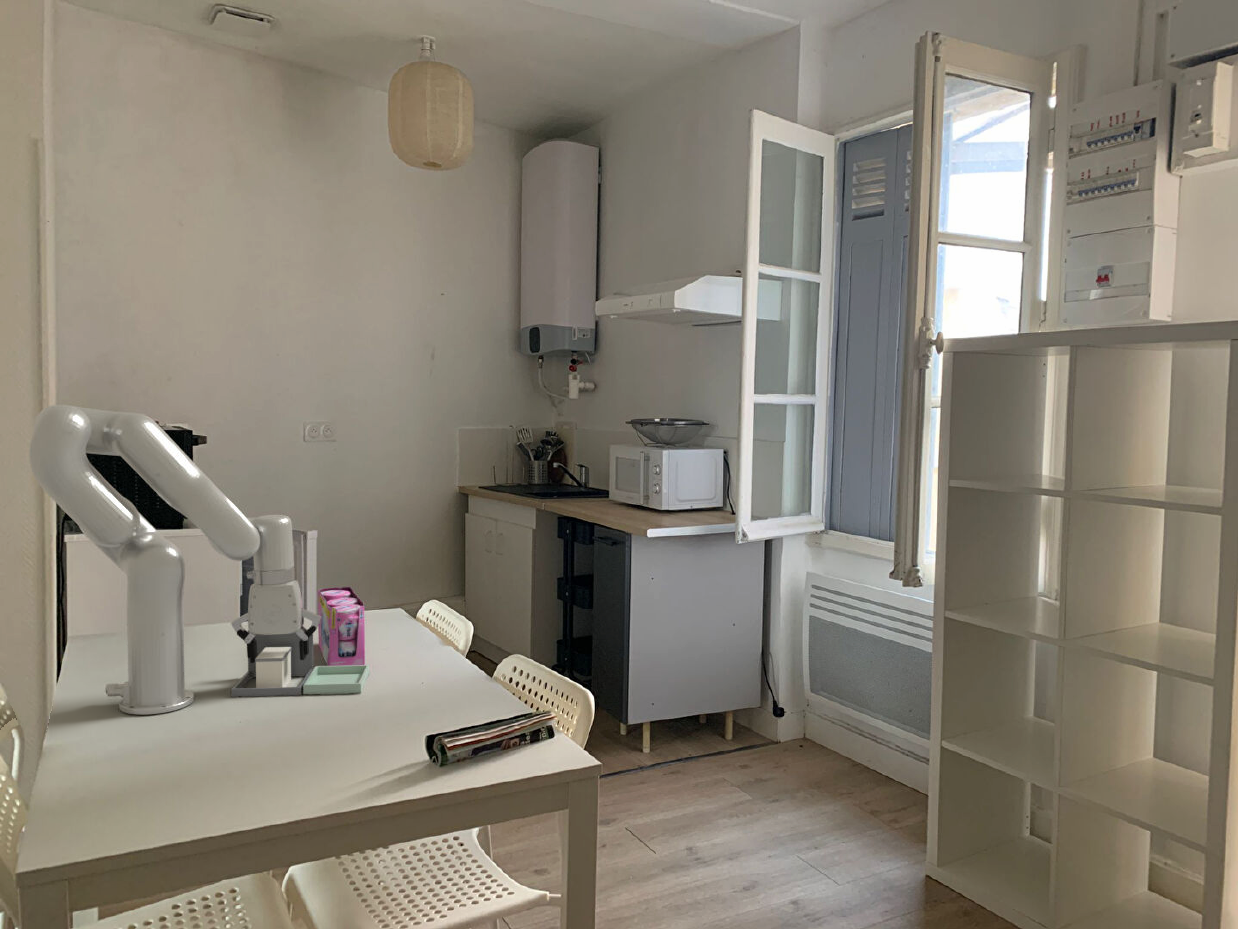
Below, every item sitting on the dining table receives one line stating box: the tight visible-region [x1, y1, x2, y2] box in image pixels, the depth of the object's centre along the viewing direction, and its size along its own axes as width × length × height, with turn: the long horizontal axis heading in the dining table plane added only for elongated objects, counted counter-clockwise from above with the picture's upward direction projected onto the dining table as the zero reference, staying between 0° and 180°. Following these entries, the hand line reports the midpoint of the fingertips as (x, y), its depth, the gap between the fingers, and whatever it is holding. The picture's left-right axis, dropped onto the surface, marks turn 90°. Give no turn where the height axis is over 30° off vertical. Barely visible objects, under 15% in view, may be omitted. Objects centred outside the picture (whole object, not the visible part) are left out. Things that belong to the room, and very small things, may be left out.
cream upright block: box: [255, 647, 292, 688], centre depth 187 cm, size 5×8×7 cm, turn 8°
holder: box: [230, 628, 314, 698], centre depth 187 cm, size 13×13×10 cm
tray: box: [302, 664, 370, 695], centre depth 189 cm, size 11×13×2 cm
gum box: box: [317, 586, 366, 666], centre depth 209 cm, size 24×8×14 cm, turn 24°
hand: (278, 659), depth 187 cm, fingers open, 9 cm apart
